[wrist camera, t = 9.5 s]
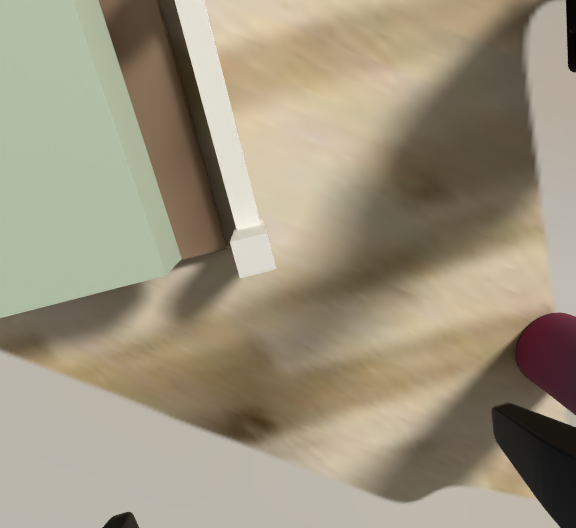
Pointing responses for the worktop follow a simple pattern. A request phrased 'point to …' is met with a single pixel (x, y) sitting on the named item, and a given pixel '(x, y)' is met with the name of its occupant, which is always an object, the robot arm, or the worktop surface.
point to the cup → (551, 356)
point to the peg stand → (165, 123)
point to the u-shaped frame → (225, 141)
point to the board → (71, 163)
